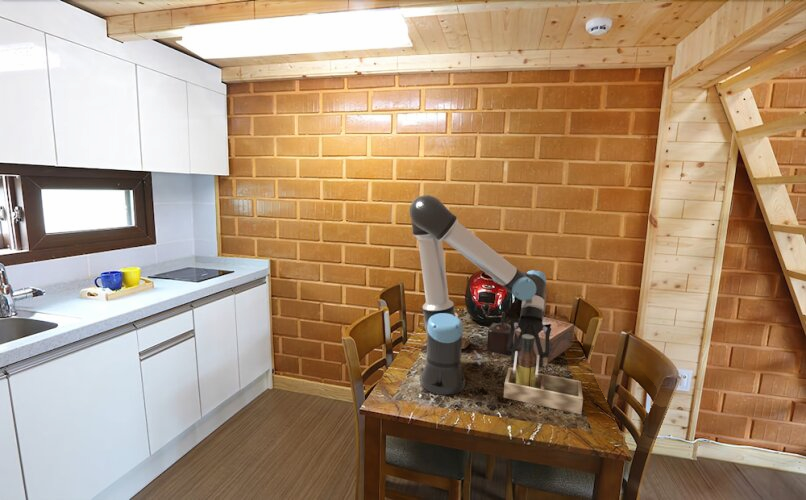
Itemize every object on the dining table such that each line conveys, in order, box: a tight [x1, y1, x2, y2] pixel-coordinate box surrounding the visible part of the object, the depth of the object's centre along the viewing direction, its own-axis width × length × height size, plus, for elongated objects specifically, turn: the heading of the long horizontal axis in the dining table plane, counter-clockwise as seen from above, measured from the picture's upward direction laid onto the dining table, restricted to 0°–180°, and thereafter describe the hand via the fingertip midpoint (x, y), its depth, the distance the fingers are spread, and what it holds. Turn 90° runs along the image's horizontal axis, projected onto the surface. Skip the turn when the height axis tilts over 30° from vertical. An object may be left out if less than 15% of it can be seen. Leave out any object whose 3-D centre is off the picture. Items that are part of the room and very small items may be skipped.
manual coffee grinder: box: [481, 302, 516, 356], centre depth 160 cm, size 16×11×18 cm
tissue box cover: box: [514, 316, 575, 364], centre depth 161 cm, size 26×14×10 cm, turn 135°
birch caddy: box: [503, 367, 584, 415], centre depth 123 cm, size 23×12×5 cm, turn 68°
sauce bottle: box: [516, 334, 537, 388], centre depth 124 cm, size 6×6×20 cm
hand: (525, 373), depth 121 cm, fingers closed on sauce bottle, 6 cm apart
